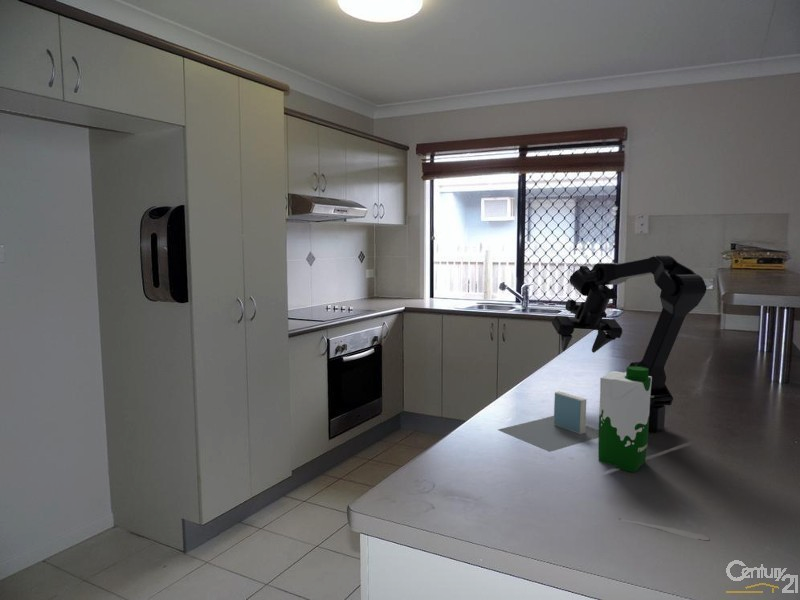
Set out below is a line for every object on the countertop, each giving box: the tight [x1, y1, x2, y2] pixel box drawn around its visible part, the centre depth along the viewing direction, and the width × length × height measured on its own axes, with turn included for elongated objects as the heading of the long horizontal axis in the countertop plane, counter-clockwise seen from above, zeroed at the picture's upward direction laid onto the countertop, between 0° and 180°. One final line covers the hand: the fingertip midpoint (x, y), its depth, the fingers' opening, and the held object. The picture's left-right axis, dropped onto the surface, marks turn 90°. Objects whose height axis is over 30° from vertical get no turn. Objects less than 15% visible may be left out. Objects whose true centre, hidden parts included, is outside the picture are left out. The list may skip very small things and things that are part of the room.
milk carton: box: [597, 365, 652, 473], centre depth 111 cm, size 9×9×20 cm
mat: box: [497, 415, 599, 453], centre depth 128 cm, size 16×20×1 cm
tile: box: [553, 390, 587, 434], centre depth 130 cm, size 8×2×8 cm, turn 33°
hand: (577, 351), depth 157 cm, fingers open, 9 cm apart
